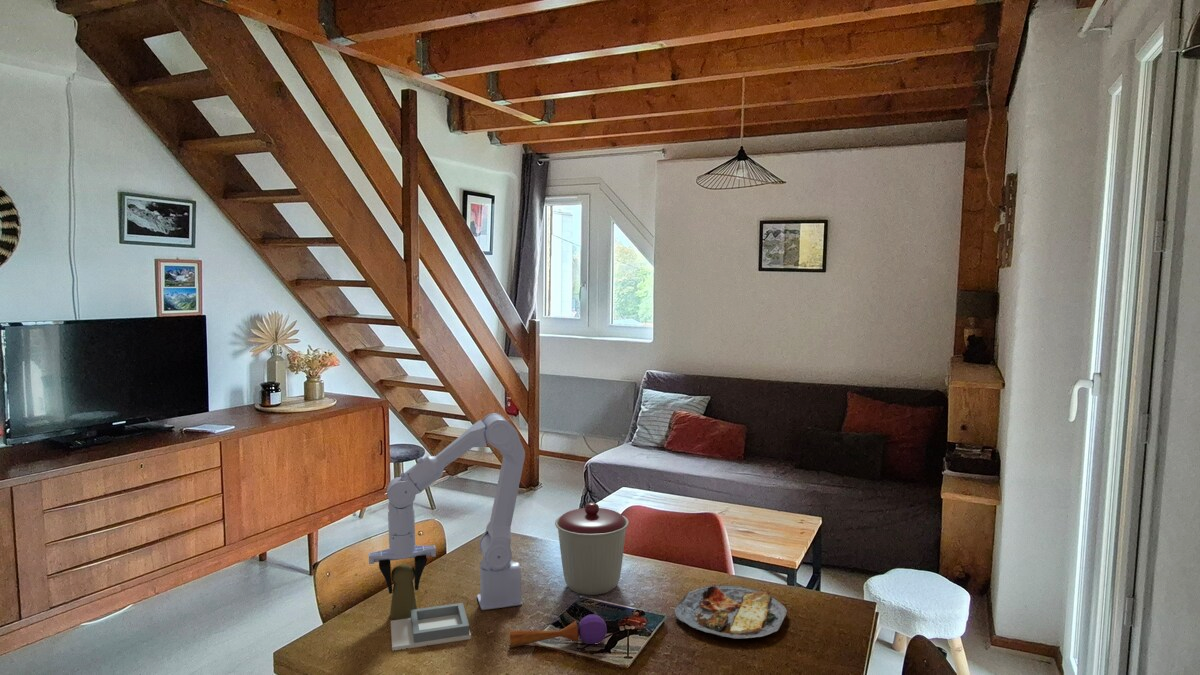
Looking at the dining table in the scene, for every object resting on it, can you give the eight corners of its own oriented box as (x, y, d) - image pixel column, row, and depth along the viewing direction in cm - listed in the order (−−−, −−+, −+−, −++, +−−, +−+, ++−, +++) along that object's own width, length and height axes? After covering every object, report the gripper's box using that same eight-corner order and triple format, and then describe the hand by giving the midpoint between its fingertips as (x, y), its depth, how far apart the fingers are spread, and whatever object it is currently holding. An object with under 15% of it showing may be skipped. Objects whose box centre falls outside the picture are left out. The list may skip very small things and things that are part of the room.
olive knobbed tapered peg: (410, 621, 159) (409, 572, 159) (385, 618, 160) (384, 570, 160) (421, 608, 165) (421, 562, 164) (397, 606, 166) (396, 560, 165)
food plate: (699, 585, 178) (699, 571, 177) (794, 604, 167) (795, 590, 167) (662, 632, 155) (662, 617, 155) (770, 658, 145) (770, 641, 145)
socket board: (464, 613, 163) (463, 601, 163) (471, 638, 152) (470, 626, 151) (390, 624, 158) (390, 612, 158) (392, 650, 147) (391, 637, 147)
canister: (544, 580, 181) (543, 498, 180) (607, 566, 190) (607, 488, 188) (574, 608, 165) (573, 519, 164) (642, 593, 174) (642, 507, 172)
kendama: (510, 620, 152) (604, 609, 153) (512, 649, 151) (607, 638, 153) (508, 628, 146) (606, 617, 147) (511, 658, 145) (609, 647, 147)
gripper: (433, 522, 167) (434, 578, 168) (368, 529, 163) (370, 587, 164) (436, 532, 161) (437, 591, 162) (368, 539, 156) (370, 600, 157)
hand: (403, 589), depth 162 cm, fingers closed on olive knobbed tapered peg, 5 cm apart
